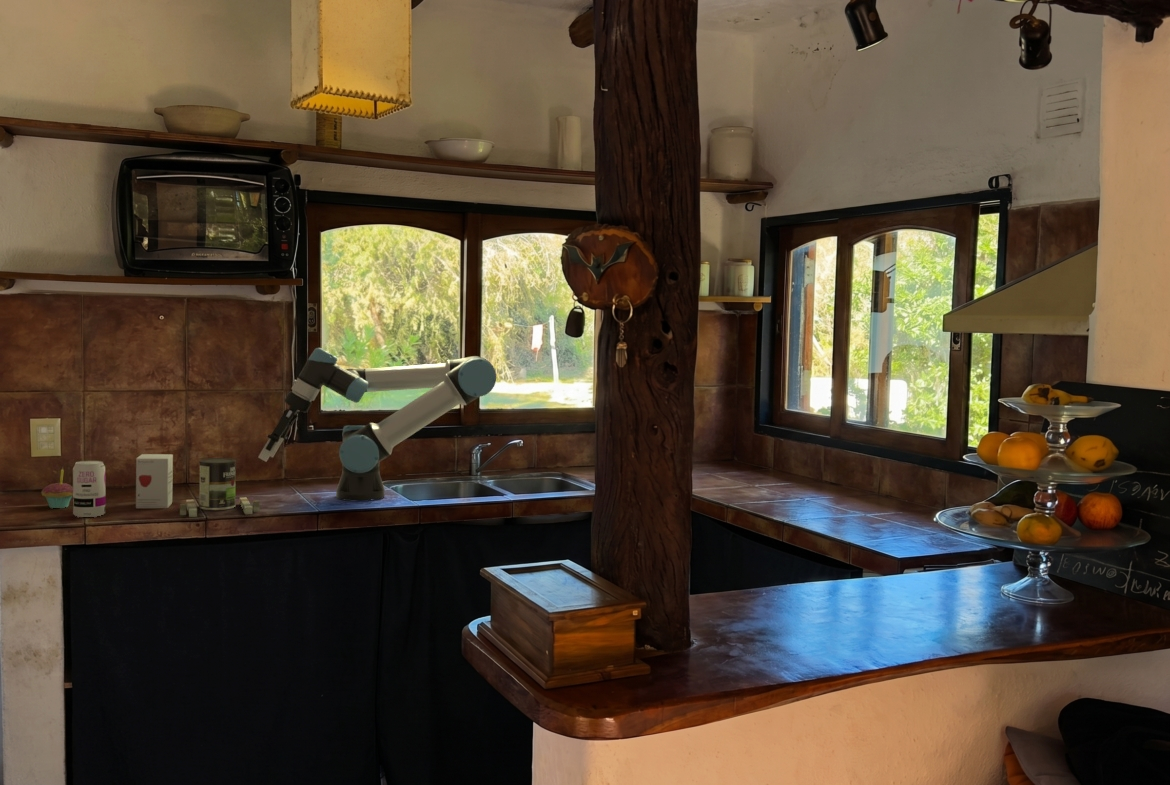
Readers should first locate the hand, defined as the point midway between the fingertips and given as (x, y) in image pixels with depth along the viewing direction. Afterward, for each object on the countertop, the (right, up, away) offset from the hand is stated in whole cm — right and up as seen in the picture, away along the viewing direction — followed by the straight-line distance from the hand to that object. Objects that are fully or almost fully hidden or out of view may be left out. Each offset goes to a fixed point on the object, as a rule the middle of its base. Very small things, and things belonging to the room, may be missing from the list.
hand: (265, 457), depth 307 cm
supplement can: (-43, -15, -20) cm, 50 cm away
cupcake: (-57, -14, -10) cm, 60 cm away
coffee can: (-13, -15, -3) cm, 20 cm away
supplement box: (-32, -14, -4) cm, 35 cm away
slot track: (-11, -15, -7) cm, 20 cm away
